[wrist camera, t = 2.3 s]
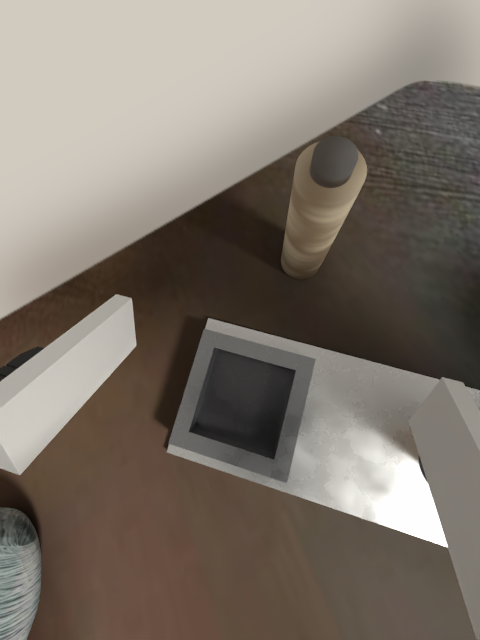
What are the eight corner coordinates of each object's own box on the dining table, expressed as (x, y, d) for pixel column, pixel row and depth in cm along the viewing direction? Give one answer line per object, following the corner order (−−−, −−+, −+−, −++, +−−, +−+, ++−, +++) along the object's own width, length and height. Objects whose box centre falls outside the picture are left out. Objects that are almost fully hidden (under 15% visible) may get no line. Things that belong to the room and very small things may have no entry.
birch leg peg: (324, 247, 31) (380, 130, 17) (315, 283, 31) (366, 194, 16) (286, 238, 32) (307, 118, 17) (276, 274, 31) (289, 179, 16)
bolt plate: (528, 404, 27) (816, 431, 13) (513, 566, 24) (850, 819, 10) (209, 319, 31) (166, 270, 17) (168, 450, 28) (78, 519, 14)
